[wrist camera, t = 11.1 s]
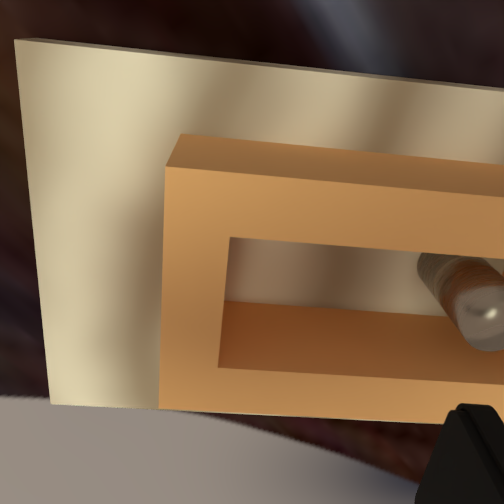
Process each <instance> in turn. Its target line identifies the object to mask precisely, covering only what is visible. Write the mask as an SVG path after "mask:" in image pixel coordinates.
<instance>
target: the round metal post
mask: <svg viewBox="0 0 504 504" xmlns="http://www.w3.org/2000/svg"><path fill="white" fill-rule="evenodd" d="M417 272H418V275H419V277H420V279H421V280H422V281H423V283H424V284H425V285H426V287H427V288H428V290H429V291H430V292H431V294H432V295H433V296H434V298H435V299H436V300H437V302H438V303H439V304H440V306H441V307H442V309H443V310H444V311H445V313H446V314H447V315H448V317H449V318H450V319H451V321H452V322H453V323H454V325H455V326H456V327H457V329H458V330H459V332H460V333H461V334H462V336H463V337H464V338H465V340H466V341H467V342H468V343H469V344H470V345H471V346H472V347H474V348H475V349H478V350H481V351H490V352H492V351H499V350H503V349H504V277H503V276H502V275H501V274H500V273H499V272H498V271H497V270H495V269H494V268H493V267H492V266H491V265H490V264H489V263H488V262H487V261H486V260H485V259H484V258H483V257H472V256H460V255H448V254H435V253H423V252H422V253H421V255H420V257H419V259H418V263H417Z"/></svg>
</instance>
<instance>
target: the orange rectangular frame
mask: <svg viewBox="0 0 504 504" xmlns="http://www.w3.org/2000/svg"><path fill="white" fill-rule="evenodd" d="M230 237H239V238H251V239H264V240H276V241H288V242H300V243H313V244H325V245H337V246H350V247H362V248H374V249H386V250H399V251H411V252H423V253H435V254H448V255H460V256H472V257H485V258H497V259H504V165H499V164H488V163H478V162H468V161H458V160H447V159H437V158H427V157H417V156H406V155H396V154H386V153H376V152H365V151H355V150H345V149H335V148H324V147H314V146H304V145H293V144H283V143H273V142H263V141H252V140H242V139H232V138H222V137H211V136H201V135H191V134H180V136H179V138H178V141H177V143H176V145H175V147H174V149H173V151H172V153H171V155H170V157H169V159H168V162H167V164H166V166H165V192H164V228H163V264H162V299H161V335H160V371H159V407H158V409H177V410H196V411H214V412H233V413H252V414H271V415H290V416H309V417H328V418H347V419H365V420H384V421H403V422H422V423H441V424H444V422H445V419H446V417H447V414H448V412H449V411H450V410H455V409H456V407H457V406H458V405H459V404H460V403H468V404H482V405H490V406H492V407H493V408H494V409H495V410H496V411H497V413H498V415H499V416H500V418H501V420H502V421H503V423H504V349H503V350H499V351H492V352H490V351H481V350H478V349H475V348H474V347H472V346H471V345H470V344H469V343H468V342H467V341H466V340H465V338H464V337H463V336H462V334H461V333H460V332H459V330H458V329H457V327H456V326H455V325H454V323H453V322H452V321H451V319H450V318H449V317H446V316H432V315H418V314H404V313H390V312H376V311H362V310H348V309H334V308H320V307H305V306H291V305H277V304H263V303H249V302H235V301H224V294H225V283H226V273H227V262H228V251H229V240H230ZM502 276H503V277H504V271H503V274H502Z"/></svg>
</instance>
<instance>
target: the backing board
mask: <svg viewBox="0 0 504 504" xmlns="http://www.w3.org/2000/svg"><path fill="white" fill-rule="evenodd" d="M14 44H15V53H16V63H17V73H18V83H19V93H20V103H21V113H22V123H23V133H24V143H25V153H26V163H27V173H28V183H29V193H30V203H31V213H32V223H33V233H34V243H35V253H36V263H37V272H38V282H39V292H40V302H41V312H42V322H43V332H44V342H45V352H46V362H47V372H48V382H49V392H50V402H51V404H58V405H59V404H60V405H78V406H97V407H98V406H99V407H117V408H136V409H156V410H176V411H195V412H214V411H196V410H177V409H158V407H159V371H160V335H161V299H162V264H163V228H164V192H165V166H166V164H167V162H168V159H169V157H170V155H171V153H172V151H173V149H174V147H175V145H176V143H177V141H178V138H179V136H180V134H191V135H201V136H211V137H222V138H232V139H242V140H252V141H263V142H273V143H283V144H293V145H304V146H314V147H324V148H335V149H345V150H355V151H365V152H376V153H386V154H396V155H406V156H417V157H427V158H437V159H447V160H458V161H468V162H478V163H488V164H499V165H504V88H496V87H487V86H478V85H468V84H459V83H450V82H441V81H431V80H422V79H413V78H403V77H394V76H385V75H376V74H366V73H357V72H348V71H339V70H329V69H320V68H311V67H301V66H292V65H283V64H274V63H264V62H255V61H246V60H237V59H227V58H218V57H209V56H199V55H190V54H181V53H172V52H162V51H153V50H144V49H135V48H125V47H116V46H107V45H97V44H88V43H79V42H70V41H60V40H51V39H42V38H28V39H14ZM421 253H422V252H411V251H399V250H386V249H374V248H362V247H350V246H337V245H325V244H313V243H300V242H288V241H276V240H264V239H251V238H239V237H230V240H229V251H228V262H227V273H226V283H225V294H224V301H235V302H249V303H263V304H277V305H291V306H305V307H320V308H334V309H348V310H362V311H376V312H390V313H404V314H418V315H432V316H446V317H448V315H447V314H446V313H445V311H444V310H443V309H442V307H441V306H440V304H439V303H438V302H437V300H436V299H435V298H434V296H433V295H432V294H431V292H430V291H429V290H428V288H427V287H426V285H425V284H424V283H423V281H422V280H421V279H420V277H419V275H418V272H417V263H418V259H419V257H420V255H421ZM483 258H484V259H485V260H486V261H487V262H488V263H489V264H490V265H491V266H492V267H493V268H494V269H495V270H497V271H498V272H499V273H500V274H501V275H502V274H503V271H504V259H497V258H485V257H483ZM215 413H233V412H215ZM234 414H252V413H234ZM254 415H271V414H254ZM274 416H290V415H274ZM293 417H309V416H293ZM313 418H328V417H313ZM332 419H347V418H332ZM352 420H365V419H352ZM372 421H384V420H372ZM391 422H403V421H391ZM411 423H422V422H411ZM430 424H441V423H430Z"/></svg>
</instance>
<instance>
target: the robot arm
mask: <svg viewBox="0 0 504 504" xmlns="http://www.w3.org/2000/svg"><path fill="white" fill-rule="evenodd" d="M415 504H504V423H503V421H502V420H501V418H500V416H499V415H498V413H497V411H496V410H495V409H494V408H493V407H492V406H490V405H482V404H468V403H460V404H459V405H458V406H457V407H456V409H455V410H450V411H449V412H448V414H447V417H446V419H445V422H444V424H443V427H442V429H441V432H440V434H439V437H438V440H437V442H436V445H435V447H434V450H433V452H432V455H431V457H430V460H429V462H428V465H427V467H426V470H425V473H424V475H423V478H422V480H421V483H420V485H419V488H418V490H417V493H416V496H415Z"/></svg>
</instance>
